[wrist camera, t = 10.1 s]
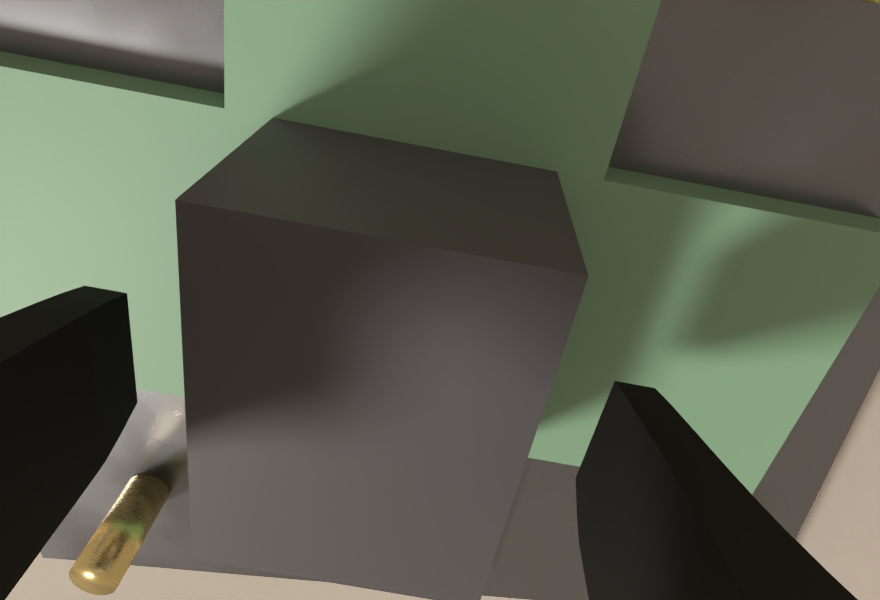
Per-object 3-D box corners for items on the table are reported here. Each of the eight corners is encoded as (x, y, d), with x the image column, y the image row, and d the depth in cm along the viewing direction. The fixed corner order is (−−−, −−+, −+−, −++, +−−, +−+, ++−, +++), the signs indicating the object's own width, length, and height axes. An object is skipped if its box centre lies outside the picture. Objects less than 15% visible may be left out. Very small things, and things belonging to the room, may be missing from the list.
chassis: (74, 513, 18) (-22, 648, 15) (-237, -341, 9) (-680, -510, 6) (735, 568, 18) (796, 723, 14) (1112, -290, 8) (1544, -448, 5)
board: (40, 500, 16) (-98, 675, 12) (-160, -393, 8) (-770, -705, 4) (658, 604, 16) (709, 803, 12) (1083, -132, 8) (1588, -190, 4)
